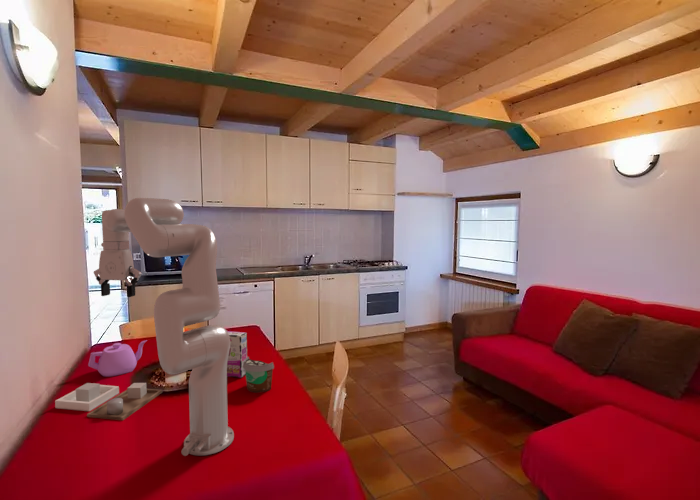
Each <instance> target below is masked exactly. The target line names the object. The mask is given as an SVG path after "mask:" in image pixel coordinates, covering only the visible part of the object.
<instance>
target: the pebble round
mask: <svg viewBox="0 0 700 500" xmlns="http://www.w3.org/2000/svg"><path fill="white" fill-rule="evenodd" d="M113 398H114V397H113ZM113 398H111V399H109V400H107V401H106V402H107V415H119V414H121V413H122V412H123V399H122V398H114V399H113Z"/></svg>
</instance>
